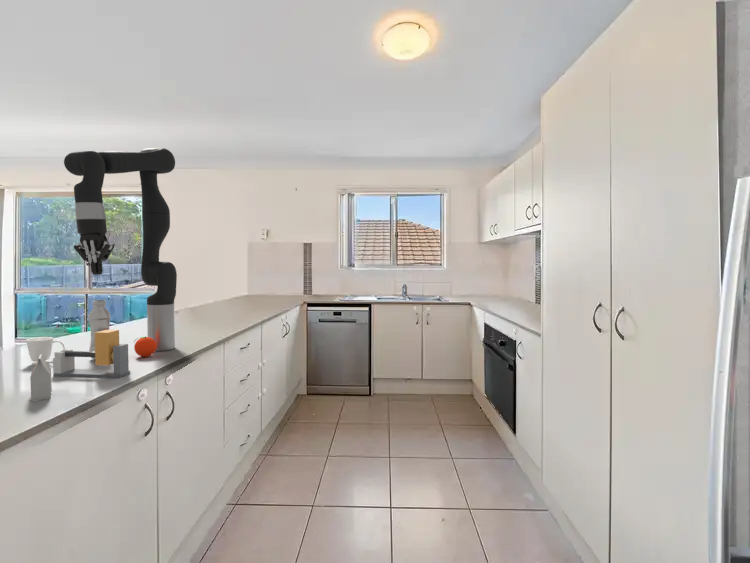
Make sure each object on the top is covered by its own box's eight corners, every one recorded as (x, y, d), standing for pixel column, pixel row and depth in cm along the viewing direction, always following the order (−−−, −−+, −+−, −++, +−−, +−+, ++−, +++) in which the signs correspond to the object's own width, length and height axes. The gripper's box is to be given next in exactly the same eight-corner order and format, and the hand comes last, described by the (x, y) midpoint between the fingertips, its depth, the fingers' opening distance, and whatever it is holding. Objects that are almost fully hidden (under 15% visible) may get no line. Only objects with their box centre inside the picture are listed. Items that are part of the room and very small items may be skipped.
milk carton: (51, 391, 107) (50, 352, 106) (50, 398, 102) (49, 358, 101) (33, 393, 105) (31, 354, 104) (31, 401, 99) (29, 360, 99)
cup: (28, 362, 137) (28, 337, 136) (66, 358, 142) (65, 335, 141) (24, 367, 130) (23, 341, 130) (63, 363, 136) (63, 338, 135)
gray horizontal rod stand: (53, 375, 121) (52, 345, 120) (67, 371, 126) (66, 341, 125) (118, 377, 119) (118, 347, 119) (130, 373, 124) (129, 343, 124)
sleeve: (95, 365, 120) (94, 332, 119) (107, 361, 124) (106, 329, 124) (108, 365, 120) (107, 332, 119) (119, 361, 124) (119, 330, 124)
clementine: (126, 358, 143) (126, 338, 142) (139, 354, 150) (138, 334, 149) (149, 359, 142) (149, 338, 142) (160, 354, 149) (160, 334, 149)
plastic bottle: (93, 362, 137) (92, 301, 136) (86, 359, 141) (84, 300, 140) (115, 358, 142) (114, 300, 141) (107, 355, 147) (105, 299, 146)
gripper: (119, 217, 130) (125, 273, 131) (83, 219, 132) (89, 273, 134) (99, 216, 122) (105, 275, 124) (61, 218, 125) (68, 276, 127)
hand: (97, 274), depth 129 cm, fingers closed
